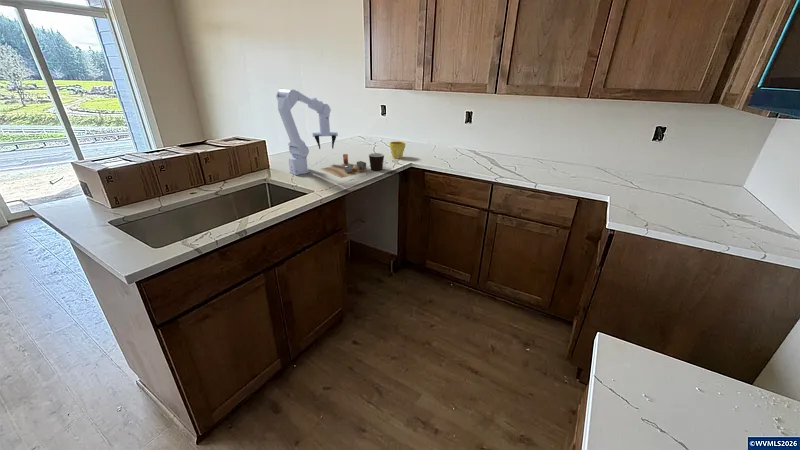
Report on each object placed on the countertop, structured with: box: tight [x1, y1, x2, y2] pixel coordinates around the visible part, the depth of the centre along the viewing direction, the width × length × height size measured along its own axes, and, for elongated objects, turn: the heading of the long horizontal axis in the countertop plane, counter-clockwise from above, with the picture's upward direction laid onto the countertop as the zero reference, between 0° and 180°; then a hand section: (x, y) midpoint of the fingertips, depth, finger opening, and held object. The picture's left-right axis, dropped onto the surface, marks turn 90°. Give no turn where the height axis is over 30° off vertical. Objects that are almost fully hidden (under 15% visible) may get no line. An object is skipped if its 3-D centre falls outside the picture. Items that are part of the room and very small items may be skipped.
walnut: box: [353, 164, 360, 171], centre depth 187 cm, size 4×4×4 cm
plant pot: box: [389, 141, 406, 159], centre depth 223 cm, size 10×10×10 cm
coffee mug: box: [368, 152, 385, 172], centre depth 192 cm, size 12×9×10 cm
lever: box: [342, 153, 352, 173], centre depth 191 cm, size 18×4×6 cm, turn 14°
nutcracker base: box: [320, 160, 371, 179], centre depth 189 cm, size 20×22×6 cm
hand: (326, 148), depth 201 cm, fingers open, 7 cm apart
